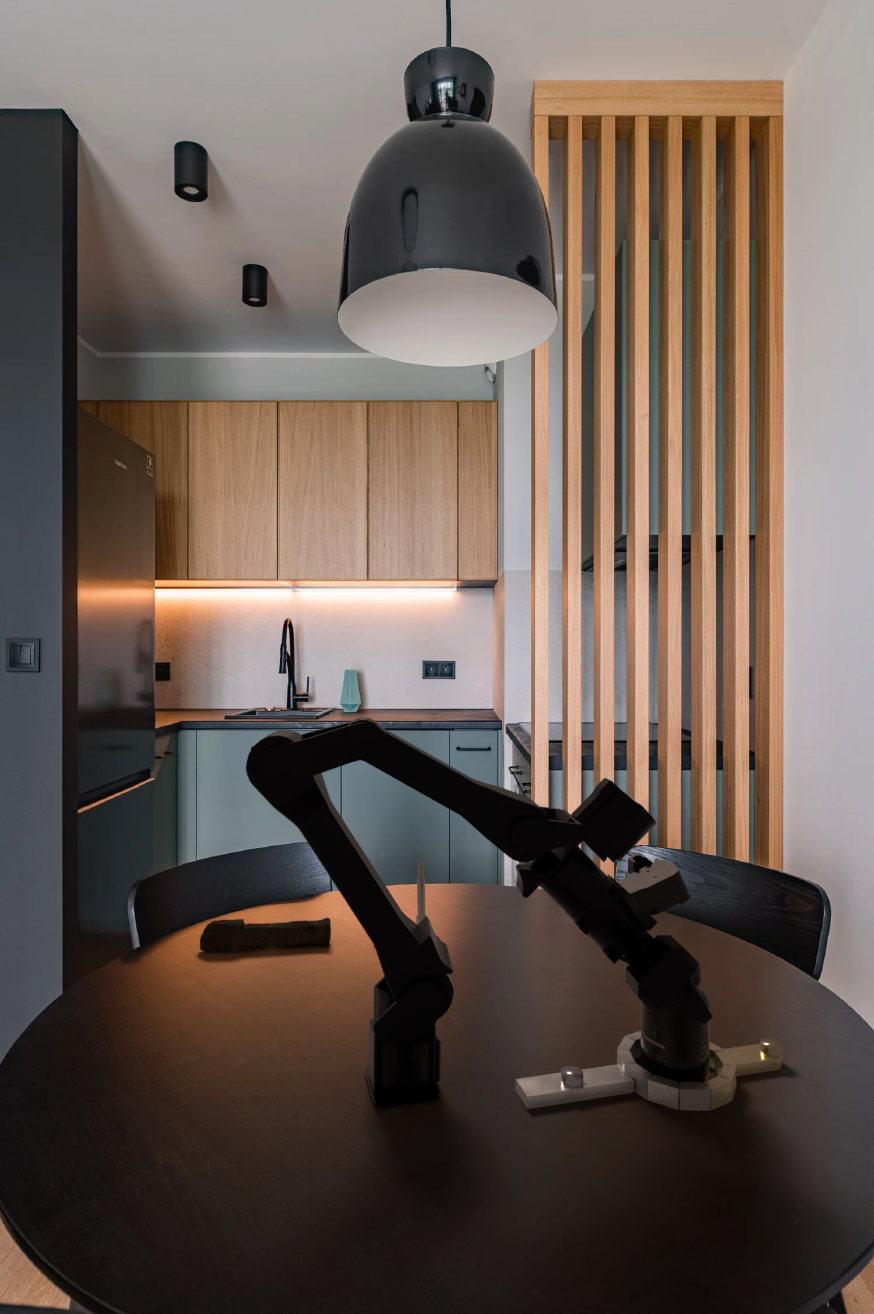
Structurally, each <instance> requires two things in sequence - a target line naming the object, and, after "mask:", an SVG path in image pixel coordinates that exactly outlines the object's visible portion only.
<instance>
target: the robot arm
mask: <svg viewBox="0 0 874 1314" xmlns="http://www.w3.org/2000/svg"><path fill="white" fill-rule="evenodd" d="M359 761H361V762H364V763H367V764H368V765H370V766H372V767H373V768H376V769H377V770H379V771H381V772H382V773H384V774H386V775H387V776H390V777H391V778H393V779H394V780H397V781H398V782H400V783H402V784H404V785H406V786H407V787H409V788H410V789H413V790H414V791H416V792H418V793H420V794H421V795H424V796H425V797H427V798H429V799H430V800H432V801H434V802H436V803H437V804H439V805H441V806H443V807H444V808H446V809H448V810H449V811H452V812H453V813H455V814H457V815H459V817H461V818H463V820H465V821H466V822H468V824H470V825H471V826H472V827H473V828H474V829H475V830H477V831H478V833H480V834H481V835H482V836H483V837H484V838H486V840H488V841H489V842H490V843H491V844H492V845H494V846H495V847H496V848H497V849H499V850H500V851H501V852H503V854H504V855H506V856H507V857H509V858H510V859H511V860H513V861H516V862H518V864H517V863H516V865H515V869H516V882H515V886H516V888H517V889H518V891H519V893H520V895H521V896H522V897H523V898H525V899H528V898H529V897H530V896H531V895H533V893H534V892H536V891H537V889H538V888H539V887H540V889H542V890H543V891H544V892H545V893H546V894H547V896H548V897H550V898H551V900H552V901H554V903H555V904H556V905H557V906H558V907H559V908H560V909H562V910H563V912H565V914H566V915H567V916H568V917H569V918H570V919H571V920H572V921H573V923H574V924H575V925H576V926H577V927H578V929H579V930H580V931H581V932H582V933H583V934H584V935H585V936H588V937H589V938H590V939H591V940H592V941H593V942H594V943H595V945H597V947H599V949H600V950H601V951H602V952H603V954H604V955H605V956H606V957H607V959H608V960H610V961H611V963H613V965H615V964H617V962H618V961H619V960H620V961H622V962H624V963H625V964H628V965H627V966H626V967H625V983H626V984H627V985H628V986H629V988H630V989H631V991H633V993H634V994H635V996H636V997H637V998H638V999H639V1000H640V1001H642V1002H643V1003H644V1004H645V1005H646V1006H647V1007H648V1008H649V1009H650V1010H651V1011H656V1010H659V1009H660V1010H663V1011H667V1012H671V1013H674V1014H677V1015H680V1016H683V1017H686V1018H688V1019H691V1020H694V1021H697V1022H700V1023H703V1024H706V1023H708V1021H709V1020H710V1021H711V1020H712V1018H713V1015H712V1013H711V1010H710V1011H709V1009H708V1008H707V1006H706V1004H705V1003H704V1001H703V999H702V998H701V996H700V994H699V993H698V991H697V989H696V988H695V986H694V984H693V982H692V980H691V976H692V975H693V974H694V972H695V971H696V970H697V967H698V962H699V961H698V960H697V959H696V958H695V957H693V955H692V954H691V953H690V952H689V951H688V950H687V949H686V948H685V947H684V946H683V945H681V944H680V943H679V941H678V940H677V939H675V938H674V937H673V936H672V935H671V934H659V935H658V934H657V935H656V936H655V937H653V936H652V935H651V933H649V931H652V929H653V928H654V927H655V926H656V925H657V924H658V923H659V922H658V921H657V920H656V919H655V918H654V917H653V916H655V915H658V914H661V913H662V912H665V911H666V910H668V909H670V908H672V907H674V906H675V907H676V905H678V904H679V905H683V904H685V903H687V902H688V901H690V899H691V894H690V892H689V890H688V888H687V885H686V883H685V880H684V878H683V876H682V874H681V871H680V870H679V868H678V867H677V866H675V865H674V864H673V863H671V862H670V861H668V860H667V859H659V858H658V857H656V858H654V862H652V861H651V860H650V859H649V858H647V856H645V855H644V854H642V853H641V852H637V853H634V854H632V855H631V856H628V857H627V872H626V873H624V876H625V877H624V878H622V879H620V880H619V881H617V880H616V879H615V878H614V877H612V876H611V874H606V873H605V872H604V871H603V870H602V869H601V868H600V866H598V865H597V864H596V863H595V862H594V861H593V860H592V859H591V858H590V857H589V856H588V854H587V853H586V852H585V851H584V850H583V849H582V848H581V847H580V845H581V844H582V843H583V844H584V845H585V846H586V847H587V848H588V849H589V850H590V851H591V852H592V853H593V854H594V855H595V856H596V857H597V858H598V859H599V860H601V862H602V863H605V862H606V861H607V860H609V861H611V862H612V863H615V862H618V863H619V862H621V861H622V859H623V858H624V857H625V856H627V854H629V852H630V851H631V850H633V848H634V847H635V846H637V844H638V843H639V842H640V841H641V840H642V839H643V838H644V837H645V836H646V835H647V833H649V832H650V831H651V830H652V828H654V826H656V825H657V821H656V820H655V818H654V817H653V816H652V815H651V814H650V812H649V811H648V810H647V809H646V808H645V807H644V806H643V805H642V804H641V803H639V802H637V801H636V800H634V799H633V798H631V796H630V795H628V794H627V793H626V792H625V791H623V790H622V789H621V788H620V787H619V786H617V784H615V782H614V781H613V780H611V779H608V778H607V777H606V778H605V777H603V779H601V780H600V782H599V783H598V784H596V786H595V787H594V789H593V791H592V793H590V794H589V796H588V797H587V798H586V799H584V801H582V802H581V804H579V805H578V806H577V808H575V810H573V812H572V813H570V812H568V811H567V810H566V809H561V808H554V807H548V806H547V807H546V806H540V805H539V804H537V803H536V802H535V801H534V800H533V799H531V798H530V797H528V796H526V795H524V794H522V793H518V792H516V791H512V790H510V789H506V788H505V787H501V786H498V785H494V784H491V783H487V782H483V781H481V780H478V779H475V778H472V777H471V776H469V775H468V774H465V773H464V772H462V771H460V770H458V769H456V768H454V767H453V766H452V765H450V764H447V763H446V762H444V761H442V760H440V759H439V758H437V757H436V756H434V755H432V754H430V753H428V752H427V751H425V750H423V749H421V748H420V747H417V746H416V745H414V744H413V743H411V742H408V740H405V739H403V738H402V737H400V736H398V735H397V734H394V733H393V732H391V731H389V730H388V729H386V728H385V727H383V726H381V725H380V724H379V723H378V722H377V721H376V720H374V719H373V718H370V717H367V716H364V717H363V716H361V717H357V718H354V719H353V720H351V721H349V722H346V723H342V724H337V725H334V726H329V727H323V728H320V729H316V730H313V731H309V732H305V733H299V732H297V731H294V730H289V729H281V730H276V731H274V732H271V733H269V734H268V735H266V736H264V737H263V738H261V739H260V740H259V741H257V743H255V744H254V745H253V746H252V747H251V750H250V751H249V752H248V754H247V758H246V764H245V772H246V776H247V777H248V778H247V779H248V781H249V782H250V784H251V785H252V787H254V789H256V790H257V792H258V793H259V794H260V795H261V796H262V797H263V798H264V799H265V801H267V802H268V803H269V805H271V807H273V808H274V809H275V810H276V811H277V812H279V814H281V816H283V817H285V818H286V819H287V820H288V821H289V822H290V823H292V824H293V825H295V827H297V828H298V830H299V832H300V833H301V835H302V836H303V837H304V839H305V841H306V842H307V844H308V845H309V847H310V848H311V850H312V851H313V853H314V854H315V857H317V859H318V861H319V863H320V864H321V866H322V867H323V869H324V870H325V872H326V873H327V874H328V876H329V878H330V879H331V881H332V882H333V884H334V886H335V887H336V889H337V890H338V892H339V893H340V894H341V896H342V898H343V899H344V900H345V902H346V904H347V905H348V907H349V909H350V910H351V912H352V913H353V915H354V916H355V917H356V919H357V921H358V922H359V924H360V926H361V927H362V929H363V931H365V933H366V935H367V937H368V938H369V940H370V941H371V943H372V944H373V947H374V949H375V951H376V955H377V958H378V960H379V964H380V966H381V970H382V973H383V975H384V976H383V977H382V978H381V979H380V980H379V981H378V982H377V983H375V984H374V987H373V1014H372V1015H373V1017H372V1019H369V1020H368V1066H366V1067H365V1068H364V1075H365V1078H366V1082H367V1084H368V1085H367V1086H368V1089H369V1091H370V1096H371V1099H372V1101H373V1102H372V1103H373V1106H374V1107H375V1108H378V1109H380V1108H386V1107H387V1108H388V1107H392V1106H393V1107H394V1106H400V1105H407V1104H414V1103H421V1102H427V1101H434V1100H438V1099H440V1098H441V1091H440V1089H439V1087H438V1085H437V1083H439V1082H440V1081H441V1057H442V1056H441V1055H442V1053H441V1051H442V1046H441V1045H442V1042H441V1040H440V1037H439V1035H438V1033H437V1030H436V1029H437V1027H436V1023H437V1021H438V1020H439V1019H441V1018H442V1017H443V1016H444V1015H445V1014H446V1013H447V1012H448V1011H449V1009H450V1007H451V1005H452V1003H453V999H454V994H455V993H454V992H455V991H454V985H453V981H452V977H451V976H452V974H453V973H454V969H453V965H452V962H451V961H452V960H451V957H450V953H449V949H448V945H447V944H446V943H445V942H444V941H442V940H441V939H439V938H440V937H439V936H438V935H437V934H436V931H435V930H434V927H433V925H432V923H431V920H430V919H429V917H428V916H427V917H425V918H424V919H423V920H422V921H421V922H420V923H419V924H416V921H413V919H411V918H410V917H408V916H407V915H406V914H405V912H403V910H402V909H401V908H400V906H399V904H398V903H397V901H396V899H395V898H394V897H393V895H392V894H391V892H390V890H389V889H388V887H387V886H386V884H385V882H384V881H383V879H382V878H381V877H380V875H379V873H378V872H377V870H376V869H375V867H374V865H372V863H371V861H370V859H369V858H368V856H367V855H366V853H365V851H364V850H363V849H362V847H361V845H360V843H358V840H357V839H356V838H355V836H354V835H353V833H352V831H351V830H350V829H349V826H348V825H347V824H346V822H345V820H344V819H343V817H342V815H340V813H339V810H337V809H336V807H335V805H334V803H333V802H332V800H331V796H330V793H329V790H328V788H327V785H326V782H325V778H324V776H323V773H326V772H328V771H331V770H334V769H337V768H339V767H343V766H346V765H348V764H351V763H355V762H359ZM523 863H524V864H523ZM436 935H437V936H438V937H439V938H438V937H437V936H436ZM696 960H697V961H696Z"/></svg>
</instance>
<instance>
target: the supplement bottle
mask: <svg viewBox="0 0 874 1314" xmlns="http://www.w3.org/2000/svg"><path fill="white" fill-rule="evenodd" d="M696 961H697V962H698V967H697V970H696V971H695V972H694V974H693V975H692V976H691V980H692V982H693V984H694V986H695V988H696V989H697V991H698V993H699V994H700V996H701V998H702V999H703V1001H704V1003H705V1004H706V1006H707V1008H708V1009H709V1011H710V1012H711V1000H710V998H709V997H710V996H709V995H708V993H707V992H706V990H705V989H704V988H703V987H702V986H701V984H702V977H701V976H702V975H701V969H702V968H701V964H700V962H699V961H698V960H697V959H696ZM640 1001H641V1000H640ZM640 1005H641V1006H640V1008H641V1011H640V1031H641V1051H640V1057H639V1058H640V1066H641V1067H642V1068H644V1069H645V1070H647V1071H649V1072H650V1073H652V1074H653V1075H656V1076H659V1077H663V1078H666V1079H670V1080H673V1081H677V1082H705V1081H708V1080H710V1068H709V1056H710V1042H711V1033H710V1032H711V1019H710V1020H709V1021H708V1023H706V1024H703V1023H700V1022H697V1021H694V1020H691V1019H688V1018H686V1017H683V1016H680V1015H677V1014H674V1013H671V1012H667V1011H663V1010H660V1009H659V1010H656V1011H651V1010H650V1009H649V1008H648V1007H647V1006H646V1005H645V1004H644V1003H643V1002H642V1001H641V1004H640Z"/></svg>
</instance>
